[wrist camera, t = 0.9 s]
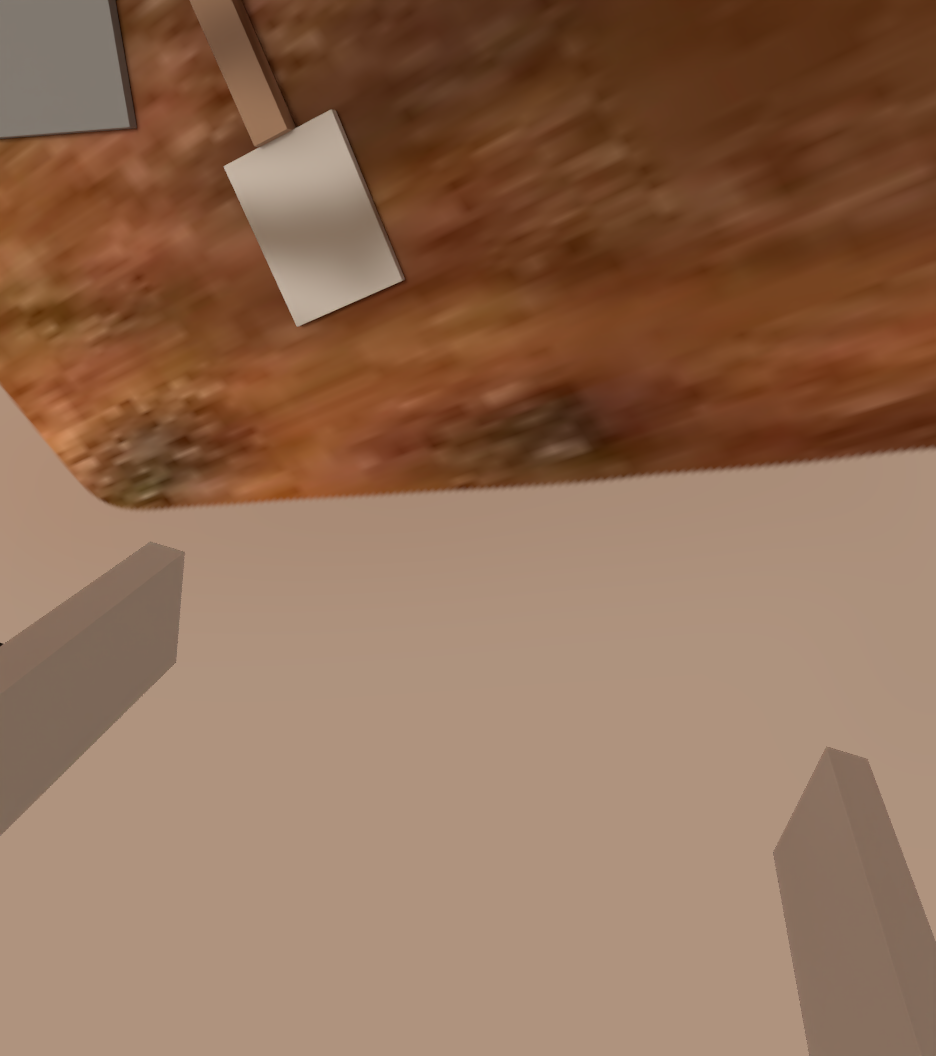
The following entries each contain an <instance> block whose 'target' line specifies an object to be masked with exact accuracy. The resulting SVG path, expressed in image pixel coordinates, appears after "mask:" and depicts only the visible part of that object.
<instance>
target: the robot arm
mask: <svg viewBox="0 0 936 1056" xmlns="http://www.w3.org/2000/svg"><path fill="white" fill-rule="evenodd" d="M184 555H185V552H183V551H180V550H176V549H173V548H170V547H167V546H163V545H160V544H157V543H153V542H149V543H148V544H146V545H145V546H143V547H142V548H141V549H139V550H138V551H136V552H135V553H133V554H132V555H131V556H129V557H128V558H126V559H125V560H123V561H122V562H121V563H119V564H118V565H116V566H115V567H113V568H112V569H111V570H109V571H108V572H106V573H105V574H103V575H102V576H101V577H99V578H98V579H96V580H95V581H93V582H92V583H90V584H89V585H88V586H86V587H85V588H83V589H82V590H80V591H79V592H78V593H76V594H75V595H73V596H72V597H71V598H69V599H68V600H66V601H65V602H63V603H62V604H60V605H59V606H58V607H56V608H55V609H53V610H52V611H51V612H49V613H48V614H46V615H45V616H43V617H42V618H40V619H39V620H38V621H36V622H35V623H33V624H32V625H30V626H29V627H27V628H26V629H25V630H23V631H22V632H20V633H19V634H18V635H16V636H15V637H13V638H12V639H10V640H9V641H7V642H6V643H5V644H2V643H0V836H1V835H2V834H3V832H5V831H6V830H7V829H8V828H9V827H10V826H11V825H12V824H13V823H14V822H15V821H16V820H17V819H18V818H19V817H20V816H21V815H22V814H23V813H24V812H25V811H26V810H27V809H28V808H29V807H30V806H31V805H32V804H33V803H34V802H35V801H36V800H37V799H38V798H39V797H40V796H41V795H42V794H43V793H44V792H45V791H46V790H47V789H48V788H49V787H50V786H51V785H52V784H53V783H54V782H55V781H56V780H57V779H58V778H59V777H60V776H61V775H62V774H63V773H64V772H65V771H66V770H67V769H68V768H69V767H71V765H72V764H74V763H75V762H76V760H78V759H79V757H81V756H82V755H83V754H84V752H86V751H87V750H88V749H89V748H90V747H91V746H92V745H93V744H94V743H95V742H96V741H97V740H98V739H99V738H100V737H101V736H102V735H103V734H104V733H105V732H106V731H107V730H108V729H109V728H110V727H111V726H112V725H113V724H114V723H115V722H116V721H117V720H118V719H119V718H120V717H121V716H122V715H123V714H124V713H125V712H126V711H127V710H128V709H129V708H130V707H131V706H132V705H133V704H134V703H135V702H136V701H137V700H138V699H139V698H140V697H141V696H142V695H143V694H144V693H145V692H146V691H147V690H148V689H149V688H150V687H151V686H152V685H154V684H155V683H156V682H157V680H159V679H160V678H161V677H162V676H163V675H164V674H165V673H166V672H167V670H169V669H170V668H171V667H172V666H173V665H174V664H175V663H176V656H177V643H178V631H179V618H180V604H181V592H182V580H183V567H184ZM773 855H774V860H775V866H776V871H777V877H778V883H779V888H780V894H781V899H782V905H783V910H784V916H785V922H786V927H787V933H788V939H789V944H790V950H791V956H792V961H793V967H794V972H795V978H796V984H797V989H798V994H799V1000H800V1006H801V1011H802V1017H803V1023H804V1028H805V1034H806V1040H807V1044H808V1051H809V1056H936V941H935V939H934V936H933V933H932V931H931V928H930V925H929V923H928V920H927V917H926V915H925V912H924V909H923V907H922V904H921V901H920V899H919V896H918V893H917V890H916V888H915V885H914V882H913V880H912V877H911V874H910V872H909V869H908V867H907V864H906V861H905V858H904V856H903V853H902V850H901V848H900V845H899V842H898V840H897V837H896V834H895V832H894V829H893V826H892V824H891V821H890V818H889V816H888V813H887V810H886V807H885V805H884V802H883V799H882V797H881V794H880V791H879V789H878V786H877V783H876V781H875V778H874V775H873V773H872V770H871V767H870V765H869V762H868V759H866V758H862V757H859V756H856V755H853V754H849V753H846V752H843V751H839V750H836V749H833V748H830V747H826V749H825V751H824V752H823V754H822V756H821V759H820V761H819V762H818V764H817V766H816V768H815V770H814V772H813V774H812V776H811V778H810V780H809V782H808V784H807V786H806V788H805V790H804V793H803V794H802V796H801V798H800V800H799V802H798V804H797V806H796V808H795V810H794V812H793V814H792V816H791V818H790V820H789V822H788V824H787V826H786V828H785V830H784V832H783V834H782V836H781V838H780V840H779V842H778V844H777V846H776V848H775V850H774V852H773Z"/></svg>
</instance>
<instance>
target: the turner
mask: <svg viewBox="0 0 936 1056" xmlns="http://www.w3.org/2000/svg"><path fill="white" fill-rule="evenodd" d="M190 2H191V5H192V7H193V9H194V11H195V14H196V16H197V18H198V20H199V23H200V25H201V27H202V29H203V32H204V34H205V36H206V38H207V41H208V43H209V45H210V47H211V50H212V52H213V54H214V56H215V59H216V61H217V63H218V65H219V68H220V70H221V72H222V74H223V77H224V79H225V81H226V83H227V86H228V88H229V90H230V92H231V95H232V97H233V99H234V101H235V104H236V106H237V108H238V110H239V113H240V115H241V117H242V119H243V122H244V124H245V126H246V128H247V131H248V133H249V135H250V137H251V140H252V142H253V144H254V146H256V147H259V148H257V149H255V150H254V151H252V152H250V153H248V154H246V155H244V156H242V157H240V158H238V159H237V160H235V161H233V162H231V163H229V164H227V165H225V166H224V169H225V171H226V173H227V175H228V177H229V180H230V182H231V184H232V186H233V188H234V190H235V193H236V195H237V197H238V199H239V201H240V204H241V206H242V208H243V210H244V212H245V214H246V217H247V219H248V221H249V223H250V225H251V228H252V230H253V232H254V234H255V236H256V239H257V241H258V243H259V245H260V247H261V249H262V252H263V254H264V256H265V258H266V260H267V263H268V265H269V267H270V269H271V271H272V273H273V276H274V278H275V280H276V282H277V284H278V287H279V289H280V291H281V293H282V295H283V297H284V300H285V302H286V304H287V306H288V308H289V311H290V313H291V315H292V317H293V319H294V322H295V324H296V326H297V327H298V326H301V325H303V324H305V323H308V322H310V321H312V320H314V319H317V318H319V317H321V316H324V315H326V314H328V313H330V312H333V311H335V310H337V309H339V308H342V307H344V306H346V305H349V304H351V303H353V302H355V301H358V300H360V299H362V298H365V297H367V296H369V295H371V294H374V293H376V292H378V291H380V290H383V289H385V288H387V287H390V286H392V285H394V284H396V283H399V282H401V281H403V280H405V278H404V275H403V273H402V271H401V268H400V266H399V263H398V261H397V258H396V256H395V254H394V251H393V249H392V246H391V244H390V241H389V239H388V236H387V234H386V232H385V229H384V227H383V224H382V222H381V219H380V217H379V215H378V212H377V210H376V207H375V205H374V202H373V200H372V197H371V195H370V193H369V190H368V188H367V185H366V183H365V180H364V178H363V176H362V173H361V171H360V168H359V166H358V163H357V161H356V158H355V156H354V154H353V151H352V149H351V146H350V144H349V141H348V139H347V137H346V134H345V132H344V129H343V127H342V124H341V122H340V119H339V117H338V115H337V112H336V111H335V110H332V109H331V110H329V111H327V112H325V113H323V114H322V115H320V116H318V117H316V118H314V119H312V120H310V121H308V122H306V123H305V124H303V125H301V126H299V127H297V128H296V127H295V124H294V122H293V120H292V117H291V115H290V113H289V110H288V108H287V106H286V103H285V101H284V99H283V96H282V94H281V92H280V89H279V87H278V85H277V82H276V80H275V78H274V75H273V73H272V71H271V68H270V66H269V64H268V61H267V59H266V57H265V54H264V52H263V50H262V47H261V45H260V43H259V40H258V38H257V36H256V33H255V31H254V29H253V26H252V24H251V22H250V19H249V17H248V15H247V12H246V10H245V8H244V5H243V3H242V1H241V0H190Z"/></svg>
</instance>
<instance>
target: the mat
mask: <svg viewBox="0 0 936 1056" xmlns="http://www.w3.org/2000/svg"><path fill="white" fill-rule="evenodd" d="M133 128H137V126H136V120H135V114H134V108H133V102H132V96H131V90H130V84H129V78H128V72H127V66H126V60H125V54H124V49H123V43H122V37H121V31H120V25H119V19H118V13H117V7H116V1H115V0H0V139H5V138H18V137H31V136H44V135H57V134H69V133H82V132H95V131H108V130H120V129H133Z"/></svg>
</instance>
